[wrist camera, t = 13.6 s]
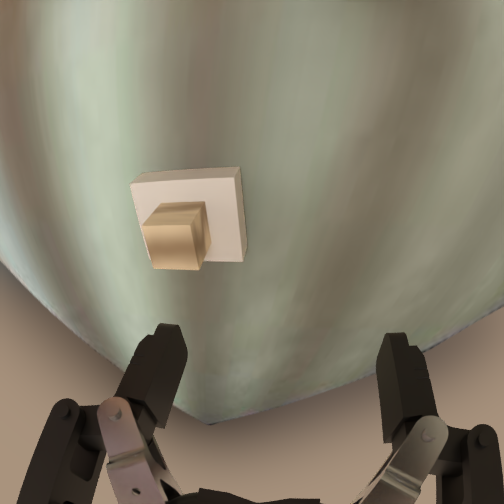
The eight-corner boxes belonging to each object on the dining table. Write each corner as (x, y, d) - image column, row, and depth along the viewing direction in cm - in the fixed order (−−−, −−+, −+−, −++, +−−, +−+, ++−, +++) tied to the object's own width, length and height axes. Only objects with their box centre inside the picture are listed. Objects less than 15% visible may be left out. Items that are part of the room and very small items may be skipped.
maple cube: (160, 202, 39) (141, 225, 34) (204, 201, 38) (190, 225, 33) (169, 242, 42) (153, 268, 37) (211, 242, 41) (199, 270, 36)
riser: (142, 172, 41) (129, 183, 38) (239, 166, 39) (234, 177, 36) (159, 244, 48) (149, 259, 44) (247, 245, 46) (242, 261, 42)
